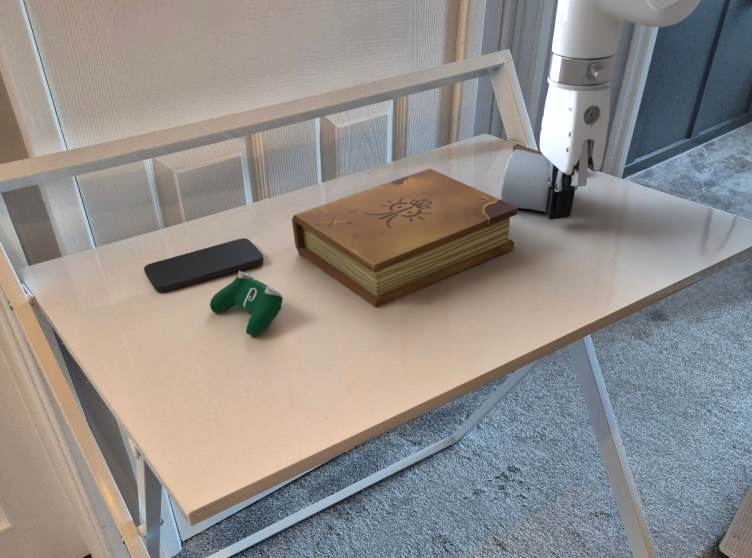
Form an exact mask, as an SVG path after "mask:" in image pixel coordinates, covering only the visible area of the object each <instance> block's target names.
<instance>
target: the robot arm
mask: <svg viewBox="0 0 752 558" xmlns="http://www.w3.org/2000/svg"><path fill="white" fill-rule="evenodd" d="M701 1H702V0H557V6H556V14H555V24H554V29H553V30H554V31H553V37H552V44H551V45H552V46H551V52H550V60H549V68H548V76H547V83H548V84H549V85H548V90H547V92H546V93H547V94H546V98H545V103H544V108H543V114H542V120H541V126H540V127H541V128H540V134H539V150H540V152H542V154H543V155H544V156H545V159H546V161H547V162H548V166H549V172H548V184H549V185H552V186H549V187H548V193H547V200H546V206H545V212H544V215H545V216H546V217H547V218H548V219H549V220H557V219H559V220H560V219H565V218H566V219H567V218H569V217H571V216H572V211H573V205H574V199H575V195H576V191H577V189H578V188H580V187H586V186H587V183H588V170H590V171H592V172H594V173H597V172H599V171H601V168H602V166H603V161H604V157H605V156H604V155H605V150H606V143H607V136H608V128H609V121H610V111H611V87H610V85H611V84H612V79H613V75H614V71H615V70H614V69H615V63H616V60H617V55H618V54H617V53H618V49H619V44H620V40H621V39H620V38H621V34H622V27H623V22H626V23H631V24H635V25H640V26H644V27H651V28H666V27H667V28H668V27H672V26H674V25H677V24H679V23H680V22H682V21H684V20H685V19H686V18H688V17H689V16H690V15H691V14H693V12H694V10H695V9H697V7H698V6H699V4H700V3H701Z"/></svg>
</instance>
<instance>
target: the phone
mask: <svg viewBox="0 0 752 558" xmlns="http://www.w3.org/2000/svg"><path fill="white" fill-rule="evenodd" d="M264 261H265V260H264V254H263V252H261V251H260V250H259V249H258V247H256V245H255V244H254V243H253V242H252V241H251V240H250V239H249V238H246V237H244V238H237V239H233V240H230V241H227V242H222V243H219V244H216V245H212V246H209V247H205V248H201V249H198V250H194V251H191V252H190V251H189V252H187V253H182V254H180V255H175V256H172V257H169V258H165V259H161V260H158V261H155V262H151V263H148V264H146V265H145V266H144V267H143V270H144V274H145V276H146V277H147V279H148V281H149V283H150V284H151V286H152V287H153V289H154V291H156V292H157V293H158V292H159V293H164V292H163V291H165V292H169V291H172V290H176V289H179V288H183V287H186V286H189V285H193V284H196V283H199V282H203V281H206V280H209V279H214V278H217V277H220V276H223V275H227V274H230V273H234V272H237V271H241V270H245V269H248V268H251V267H254V266H257V265H261V264H262V263H263V262H264Z"/></svg>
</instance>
